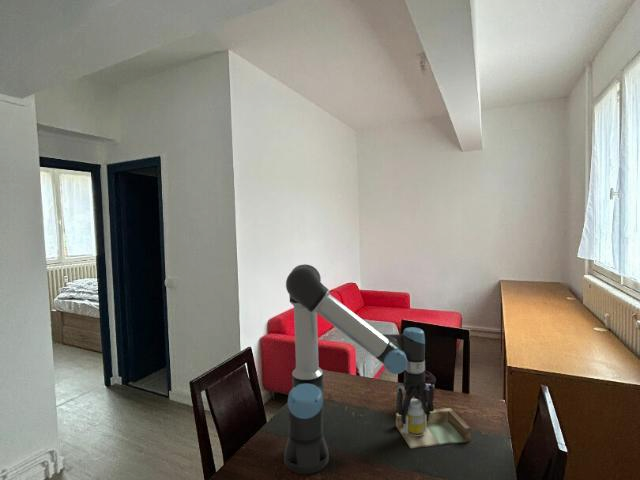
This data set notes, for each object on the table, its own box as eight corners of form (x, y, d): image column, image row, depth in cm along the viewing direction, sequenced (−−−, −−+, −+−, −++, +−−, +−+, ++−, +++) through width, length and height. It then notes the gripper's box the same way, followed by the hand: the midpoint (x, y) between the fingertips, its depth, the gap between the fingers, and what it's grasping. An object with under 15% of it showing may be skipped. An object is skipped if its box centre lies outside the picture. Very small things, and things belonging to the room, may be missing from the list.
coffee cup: (438, 414, 142) (437, 379, 142) (413, 412, 144) (413, 377, 143) (433, 402, 152) (433, 369, 152) (411, 400, 154) (410, 368, 153)
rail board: (410, 448, 121) (410, 434, 121) (396, 425, 135) (395, 413, 135) (470, 441, 124) (470, 427, 124) (450, 420, 138) (450, 407, 138)
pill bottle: (408, 425, 133) (408, 395, 132) (425, 429, 130) (425, 399, 129) (404, 434, 127) (403, 403, 127) (421, 438, 124) (421, 407, 124)
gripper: (393, 376, 122) (393, 439, 123) (443, 372, 125) (444, 433, 126) (386, 368, 130) (386, 427, 131) (434, 364, 133) (434, 422, 134)
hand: (415, 430), depth 128 cm, fingers closed on pill bottle, 6 cm apart
